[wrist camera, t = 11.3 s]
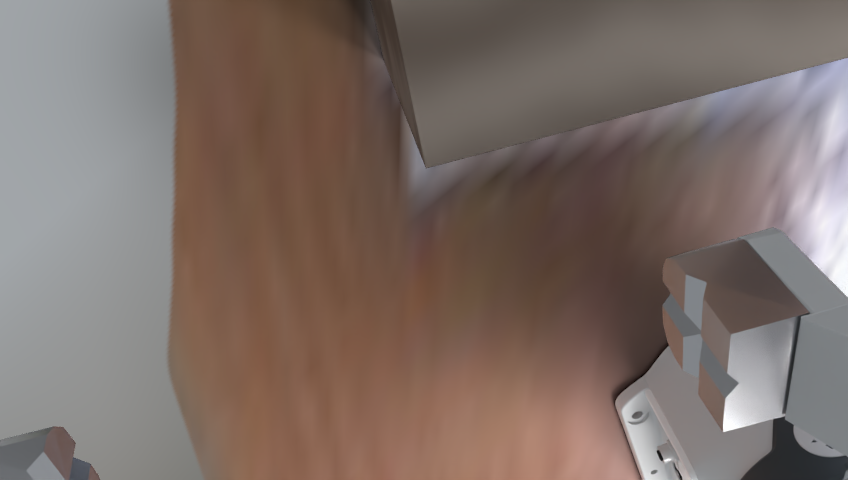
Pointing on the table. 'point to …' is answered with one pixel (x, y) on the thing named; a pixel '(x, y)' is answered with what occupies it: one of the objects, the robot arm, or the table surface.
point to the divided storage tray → (583, 60)
